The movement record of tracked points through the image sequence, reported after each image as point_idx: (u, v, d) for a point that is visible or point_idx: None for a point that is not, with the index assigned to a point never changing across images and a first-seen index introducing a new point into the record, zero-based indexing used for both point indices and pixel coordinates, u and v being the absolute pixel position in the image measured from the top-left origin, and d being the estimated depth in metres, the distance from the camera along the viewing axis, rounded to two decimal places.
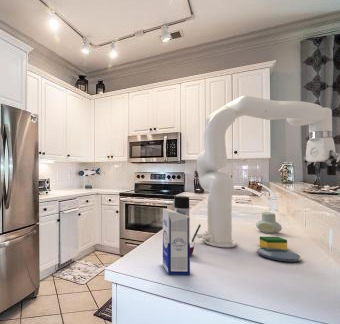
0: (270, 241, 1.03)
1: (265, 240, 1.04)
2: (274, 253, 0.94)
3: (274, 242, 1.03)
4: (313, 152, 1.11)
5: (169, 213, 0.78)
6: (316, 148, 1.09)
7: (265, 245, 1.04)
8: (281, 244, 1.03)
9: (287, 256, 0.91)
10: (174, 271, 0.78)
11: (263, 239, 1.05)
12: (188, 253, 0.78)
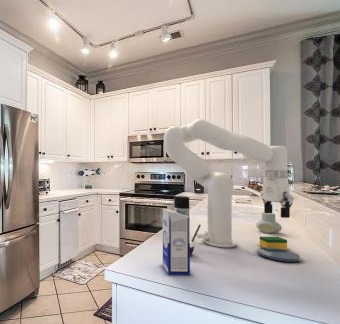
0: (270, 241, 1.03)
1: (265, 240, 1.04)
2: (274, 253, 0.94)
3: (274, 242, 1.03)
4: (268, 191, 1.07)
5: (169, 213, 0.78)
6: (271, 187, 1.05)
7: (265, 245, 1.04)
8: (281, 244, 1.03)
9: (287, 256, 0.91)
10: (174, 271, 0.78)
11: (263, 239, 1.05)
12: (188, 253, 0.78)
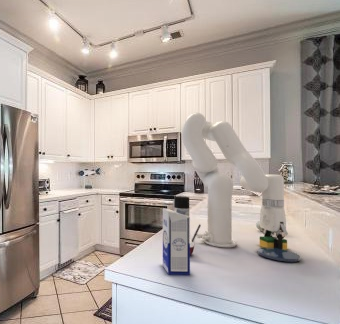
0: (270, 241, 1.03)
1: (265, 240, 1.04)
2: (274, 253, 0.94)
3: None
4: (265, 220, 1.06)
5: (169, 213, 0.78)
6: (268, 216, 1.04)
7: (265, 245, 1.04)
8: None
9: (287, 256, 0.91)
10: (174, 271, 0.78)
11: (263, 239, 1.05)
12: (188, 253, 0.78)
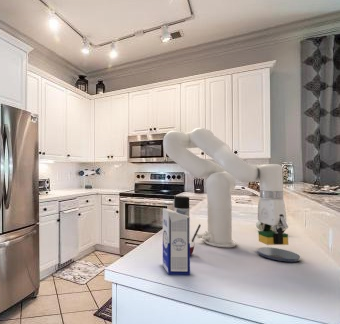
0: (270, 236, 0.95)
1: (264, 235, 0.97)
2: (274, 253, 0.94)
3: None
4: (264, 213, 0.99)
5: (169, 213, 0.78)
6: (266, 209, 0.97)
7: (264, 240, 0.97)
8: None
9: (287, 256, 0.91)
10: (174, 271, 0.78)
11: (262, 234, 0.98)
12: (188, 253, 0.78)
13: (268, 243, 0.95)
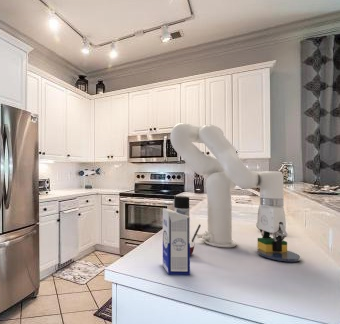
0: (269, 243, 0.95)
1: (263, 242, 0.97)
2: (274, 253, 0.94)
3: None
4: (263, 220, 0.98)
5: (169, 213, 0.78)
6: (266, 216, 0.97)
7: (263, 247, 0.97)
8: None
9: (287, 256, 0.91)
10: (174, 271, 0.78)
11: (261, 241, 0.98)
12: (188, 253, 0.78)
13: (267, 250, 0.95)
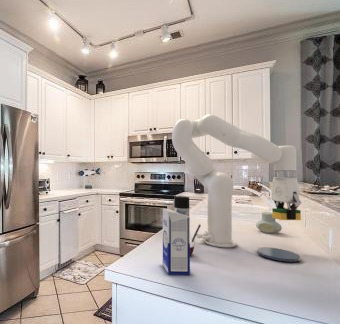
0: (283, 212, 1.03)
1: (278, 211, 1.04)
2: (274, 253, 0.94)
3: None
4: (278, 191, 1.06)
5: (169, 213, 0.78)
6: (280, 187, 1.04)
7: (278, 216, 1.04)
8: None
9: (287, 256, 0.91)
10: (174, 271, 0.78)
11: (276, 210, 1.05)
12: (188, 253, 0.78)
13: (282, 218, 1.03)
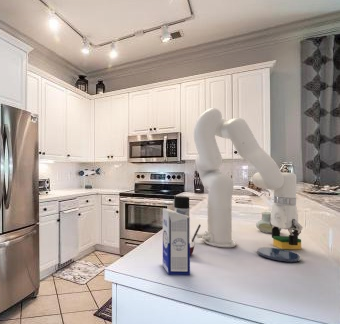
0: (284, 240, 1.04)
1: (279, 240, 1.05)
2: (274, 253, 0.94)
3: (288, 241, 1.04)
4: (277, 217, 1.07)
5: (169, 213, 0.78)
6: (279, 214, 1.05)
7: (279, 244, 1.05)
8: None
9: (287, 256, 0.91)
10: (174, 271, 0.78)
11: (277, 239, 1.06)
12: (188, 253, 0.78)
13: (283, 247, 1.04)
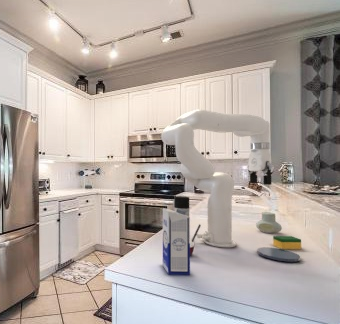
0: (284, 240, 1.04)
1: (279, 240, 1.05)
2: (274, 253, 0.94)
3: (288, 241, 1.04)
4: (253, 162, 1.18)
5: (169, 213, 0.78)
6: (255, 158, 1.16)
7: (279, 244, 1.05)
8: (295, 244, 1.04)
9: (287, 256, 0.91)
10: (174, 271, 0.78)
11: (277, 239, 1.06)
12: (188, 253, 0.78)
13: (283, 247, 1.04)
